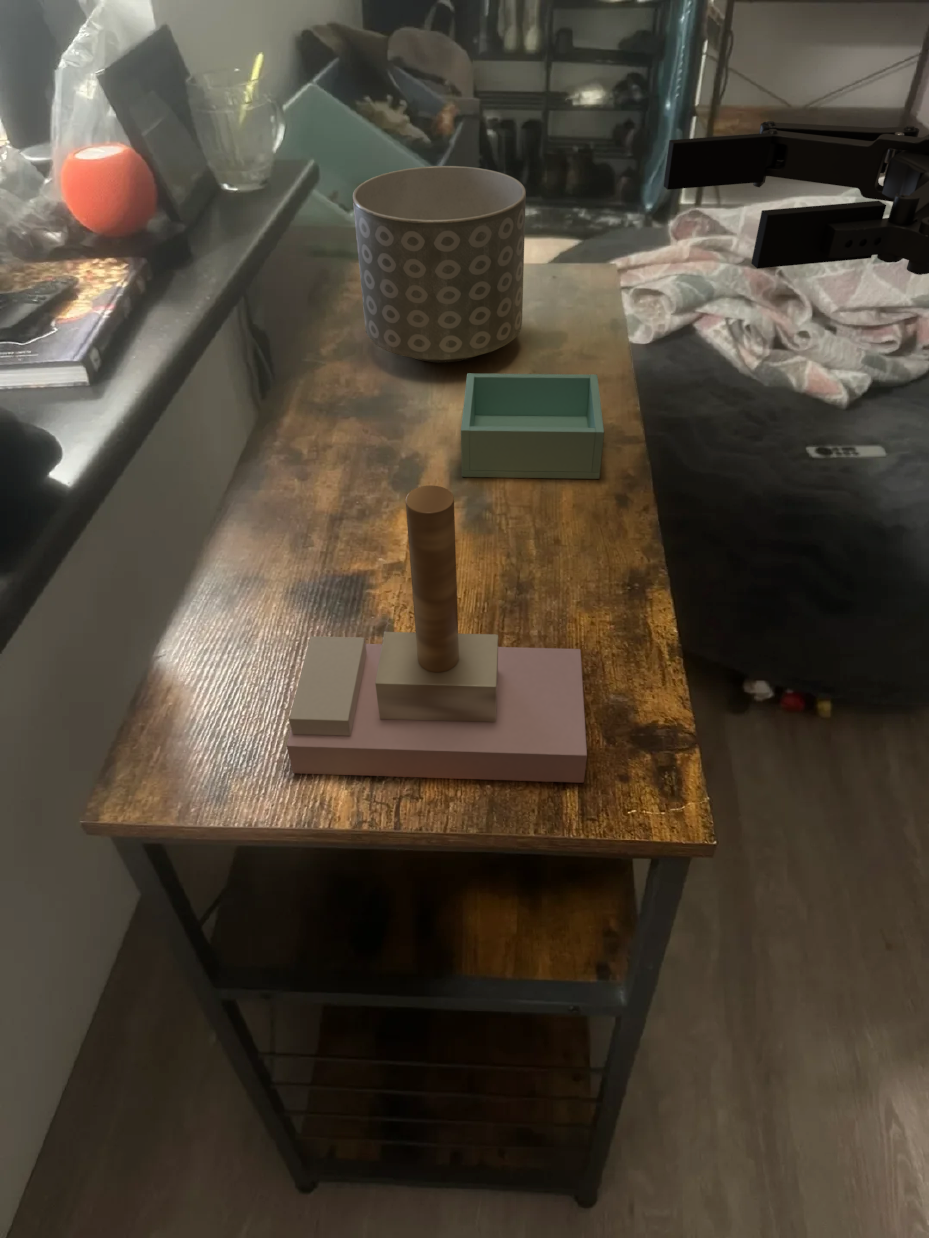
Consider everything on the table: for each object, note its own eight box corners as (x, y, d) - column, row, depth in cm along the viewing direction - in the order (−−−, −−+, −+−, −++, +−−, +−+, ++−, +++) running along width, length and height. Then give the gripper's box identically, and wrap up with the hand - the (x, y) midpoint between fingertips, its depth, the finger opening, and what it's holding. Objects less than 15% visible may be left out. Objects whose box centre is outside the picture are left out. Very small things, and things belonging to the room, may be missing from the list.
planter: (524, 316, 115) (528, 166, 103) (518, 386, 101) (522, 221, 89) (380, 313, 116) (368, 165, 104) (355, 382, 102) (337, 219, 90)
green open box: (593, 419, 95) (597, 374, 92) (599, 479, 87) (604, 432, 83) (467, 418, 96) (467, 373, 92) (461, 477, 87) (460, 430, 84)
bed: (577, 676, 67) (582, 632, 64) (583, 783, 60) (589, 739, 57) (318, 669, 68) (310, 626, 65) (292, 773, 61) (282, 730, 58)
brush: (498, 670, 64) (500, 475, 52) (496, 722, 60) (497, 525, 49) (388, 667, 64) (366, 473, 53) (379, 719, 60) (354, 523, 49)
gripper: (1165, 316, 47) (791, 355, 44) (908, 177, 65) (633, 199, 62) (1247, 163, 42) (830, 198, 39) (944, 59, 60) (646, 78, 57)
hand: (708, 199), depth 51 cm, fingers open, 13 cm apart
